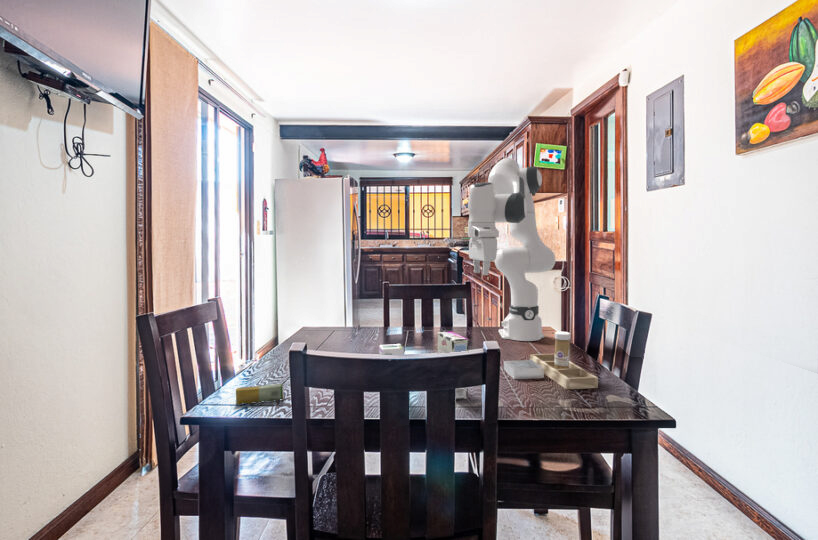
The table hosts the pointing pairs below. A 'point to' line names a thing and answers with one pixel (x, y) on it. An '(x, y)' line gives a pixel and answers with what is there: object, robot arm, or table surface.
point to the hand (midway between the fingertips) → (481, 273)
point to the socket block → (523, 369)
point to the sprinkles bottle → (562, 350)
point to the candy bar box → (453, 344)
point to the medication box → (259, 393)
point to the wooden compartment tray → (565, 373)
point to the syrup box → (391, 349)
